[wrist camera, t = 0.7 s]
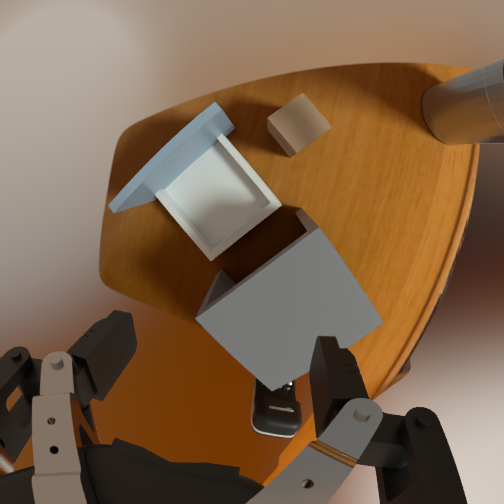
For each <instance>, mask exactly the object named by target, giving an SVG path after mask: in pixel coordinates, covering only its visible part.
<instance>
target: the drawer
mask: <svg viewBox="0 0 504 504" xmlns="http://www.w3.org/2000/svg"><path fill="white" fill-rule="evenodd" d="M235 129H236V128H235V127H234V125H233V124H232V122H231V121H230V120H229V118H228V117H227V116H226V114H225V113H224V111H223V110H222V109H221V108H220V107H219V106H218V105H217V103H216V102H214V103H213V104H211V105H210V106H209V107H208V108H207V109H205V110H204V111H203V112H202V113H201V114H199V115H198V116H197V117H196V118H195V119H194V120H192V121H191V122H190V123H189V124H188V125H187V126H185V127H184V128H183V129H182V130H181V131H180V132H179V133H178V134H177V135H176V136H174V137H173V138H172V139H171V140H170V141H169V142H168V143H167V144H166V145H165V146H164V147H163V148H162V149H161V150H160V151H159V152H158V153H157V154H156V155H155V156H154V157H153V158H152V159H151V160H150V161H149V162H148V163H147V164H146V165H145V166H144V167H143V168H142V169H141V170H140V171H139V172H138V173H137V174H136V175H135V176H134V177H133V178H132V179H131V180H130V182H129V183H128V184H127V185H126V186H125V187H124V188H123V189H122V190H121V192H120V193H119V194H118V195H117V196H116V197H115V198H114V200H113V201H112V202H111V203H110V204H109V205H108V206H109V207H110V209H111V210H112V211H113V213H116V212H119V211H122V210H126V209H129V208H132V207H135V206H138V205H142V204H145V203H148V202H152V201H155V200H156V199H157V198H158V199H159V201H160V202H161V203H162V204H163V205H164V207H165V208H166V209H167V210H168V211H169V213H170V214H171V215H172V216H173V217H174V219H175V220H176V221H177V222H178V223H179V225H180V226H181V227H182V228H183V229H184V231H185V232H186V233H187V234H188V235H189V237H190V238H191V239H192V240H193V241H194V242H195V244H196V245H197V246H198V247H199V248H200V249H201V251H202V252H203V253H204V254H205V255H206V256H207V257H208V259H209V260H210V261H212V260H213V259H215V258H216V257H217V256H218V255H220V254H221V253H222V252H223V251H225V250H226V249H227V248H228V247H230V246H231V245H232V244H233V243H235V242H236V241H237V240H238V239H240V238H241V237H242V236H243V235H245V234H246V233H247V232H248V231H250V230H251V229H252V228H254V227H255V226H256V225H257V224H259V223H260V222H261V221H262V220H264V219H265V218H266V217H268V216H269V215H270V214H271V213H273V212H274V211H275V210H277V209H278V208H279V207H280V206H282V204H281V202H280V201H279V200H278V199H277V197H276V196H275V195H274V194H273V192H272V191H271V190H270V189H269V187H268V186H267V185H266V184H265V183H264V181H263V180H262V179H261V178H260V176H259V175H258V174H257V173H256V172H255V170H254V169H253V168H252V167H251V166H250V164H249V163H248V162H247V161H246V160H245V158H244V157H243V156H242V155H241V154H240V153H239V151H238V150H237V149H236V148H235V147H234V146H233V144H232V143H231V142H230V141H229V140H228V139H227V138H226V136H227V135H228V134H230V133H231V132H232V131H233V130H235Z"/></svg>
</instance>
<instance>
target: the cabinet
mask: <svg viewBox="0 0 504 504" xmlns="http://www.w3.org/2000/svg"><path fill="white" fill-rule="evenodd" d="M295 214H296V215H297V217H298V218H299V220H300V221H301V223H302V224H303V226H304V227H305V228H306V230H307V232H306V233H304V234H303V235H302V236H300V237H299V238H298V239H297V240H295V241H294V242H293V243H291V244H290V245H289V246H287V247H286V248H285V249H283V250H282V251H281V252H279V253H278V254H277V255H275V256H274V257H273V258H271V259H270V260H269V261H267V262H266V263H265V264H263V265H262V266H261V267H259V268H258V269H257V270H255V271H254V272H252V273H251V274H250V275H248V276H247V277H246V278H244V279H243V280H242V281H240V282H239V283H238V284H235V283H234V281H233V280H232V279H231V278H230V277H229V276H228V275H227V274H226V272H225V271H224V270H223V269H221V270H220V271H219V272H217V274H216V276H215V278H214V280H213V282H212V284H211V286H210V288H209V290H208V292H207V294H206V296H205V299H204V301H203V303H202V305H201V307H200V309H199V311H198V313H197V315H196V318H195V319H196V320H197V321H198V322H199V323H200V324H201V325H202V326H203V327H204V328H205V329H206V330H207V331H208V332H209V333H210V334H211V335H212V336H213V337H214V338H215V339H216V340H217V341H218V342H219V343H220V344H221V345H222V346H223V347H224V348H225V349H226V350H227V351H228V352H229V353H230V354H231V355H232V356H234V358H236V360H238V361H239V362H240V363H241V364H242V365H243V366H244V367H245V368H246V369H247V370H248V371H250V372H251V373H252V374H253V375H254V376H255V377H256V378H257V379H258V380H260V381H261V382H262V383H263V384H264V385H265V386H266V387H268V388H269V389H270V390H271V391H274V390H275V389H277V388H279V387H281V386H283V385H285V384H287V383H289V382H291V381H293V380H294V379H296V378H298V377H300V376H302V375H303V374H305V373H307V372H308V371H310V364H311V360H312V355H313V351H314V347H315V343H316V339H317V336H336V338H337V341H338V344H339V347H340V348H348V347H349V346H351V345H352V344H354V343H355V342H357V341H358V340H360V339H361V338H363V337H364V336H366V335H367V334H369V333H370V332H371V331H373V330H374V329H376V328H377V327H378V326H380V325H381V324H383V323H384V322H383V321H382V319H381V318H380V316H379V314H378V313H377V311H376V310H375V308H374V306H373V305H372V303H371V302H370V300H369V299H368V297H367V296H366V294H365V292H364V291H363V289H362V288H361V286H360V285H359V283H358V282H357V280H356V279H355V277H354V276H353V274H352V273H351V271H350V270H349V268H348V267H347V266H346V264H345V263H344V261H343V260H342V258H341V257H340V255H339V254H338V253H337V251H336V250H335V248H334V247H333V246H332V244H331V243H330V241H329V240H328V239H327V237H326V236H325V234H324V233H323V232H322V230H321V229H320V228H319V226H318V225H317V224H316V223H315V222H314V221H313V220H312V219H311V218H310V217H309V216H308V215H307V214H306V213H305V212H304V211H303V209H302V208H300V209H299V210H298V211H296V212H295Z"/></svg>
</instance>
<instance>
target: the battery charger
mask: <svg viewBox="0 0 504 504" xmlns="http://www.w3.org/2000/svg"><path fill="white" fill-rule="evenodd" d="M301 423H302V416H301V404H300V403H299V402H297V401H296V398H295V380H293V381H291V382H289V383H287V384H285V385H283V386H281V387H279V388H277V389H275V390H274V391H271V390H270V389H269V388H268V387H266V386H265V385H264V384H263V383H262V382H261V381H260V380H258V379H257V378H256V379H255V382H254V396H253V403H252V412H251V427H252V429H253V431H254V432H256V433H257V434H260V435H265V436H270V437H277V438H291V437H293V436H294V435H295V434H296V433H297V430H298V429H299V428H300V425H301Z"/></svg>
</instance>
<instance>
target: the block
mask: <svg viewBox="0 0 504 504" xmlns="http://www.w3.org/2000/svg"><path fill="white" fill-rule="evenodd" d="M330 128H332V127H331V125H330V124H329V123H328V122H327V120H326V119H325V118H324V117H323V116H322V114H321V113H320V112H319V111H318V110H317V108H316V107H315V106H314V105H313V104H312V103H311V101H310V100H309V99H308V98H307V97H306V96H305V95H304V93H301V94H300V95H299V96H297V97H296V98H294V99H293V100H291V101H290V102H288V103H287V104H286V105H284V106H283V107H281V108H280V109H279V110H277V111H276V112H274V113H273V114H272V115H270V116H269V117H268V118H267V131H268V132H269V133H270V134H271V136H272V137H273V138H274V139H275V140H276V142H277V143H278V144H279V145H280V146H281V148H282V149H283V150H284V151H285V152H286V154H287V155H288V156H289V157H292V156H293V155H295V154H296V153H298V152H299V151H300V150H302V149H303V148H304V147H306V146H307V145H308V144H310V143H311V142H312V141H314V140H315V139H316V138H318V137H319V136H321V135H322V134H323V133H325V132H326V131H327V130H329V129H330Z"/></svg>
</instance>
